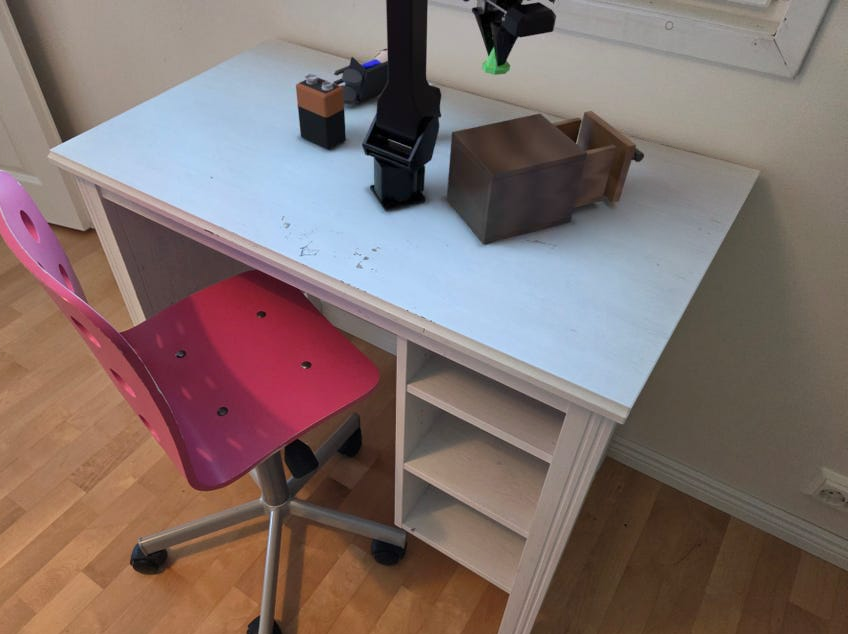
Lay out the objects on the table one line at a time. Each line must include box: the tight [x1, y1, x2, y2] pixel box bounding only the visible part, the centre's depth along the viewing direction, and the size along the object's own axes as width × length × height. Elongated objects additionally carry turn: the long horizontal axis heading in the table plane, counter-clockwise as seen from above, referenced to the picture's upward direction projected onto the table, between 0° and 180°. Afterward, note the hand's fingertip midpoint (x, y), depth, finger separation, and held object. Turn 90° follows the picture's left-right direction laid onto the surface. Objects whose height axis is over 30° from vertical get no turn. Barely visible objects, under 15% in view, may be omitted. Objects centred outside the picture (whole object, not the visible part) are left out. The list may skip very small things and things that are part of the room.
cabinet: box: [446, 113, 587, 245], centre depth 89 cm, size 14×12×11 cm
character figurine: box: [332, 48, 388, 105], centre depth 116 cm, size 8×7×15 cm
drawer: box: [551, 110, 645, 209], centre depth 92 cm, size 17×10×9 cm, turn 111°
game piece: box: [481, 37, 511, 76], centre depth 100 cm, size 4×4×6 cm
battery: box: [295, 73, 347, 150], centre depth 104 cm, size 4×7×10 cm, turn 48°
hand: (496, 62), depth 102 cm, fingers closed on game piece, 2 cm apart
